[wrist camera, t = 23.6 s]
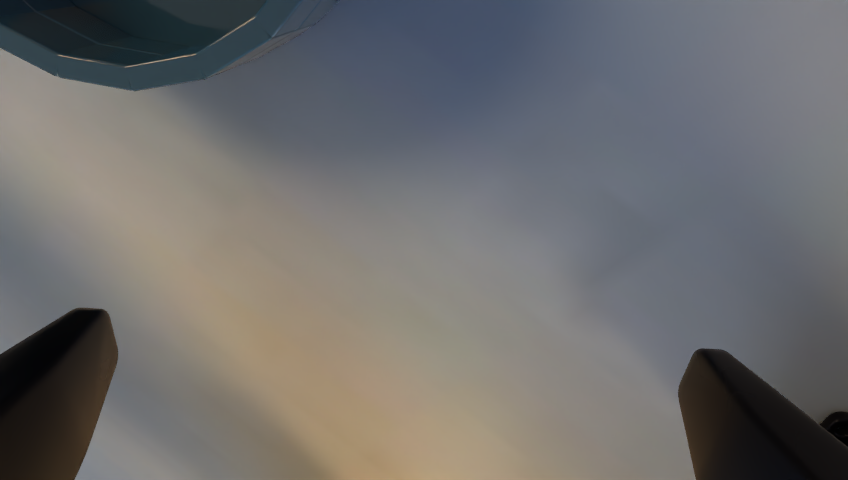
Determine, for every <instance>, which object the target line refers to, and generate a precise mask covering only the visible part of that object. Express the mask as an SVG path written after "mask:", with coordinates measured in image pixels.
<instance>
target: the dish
mask: <svg viewBox="0 0 848 480" xmlns="http://www.w3.org/2000/svg"><path fill="white" fill-rule="evenodd" d="M339 1H340V0H0V48H2V49H4V50H5V51H7V52H9V53H11V54H13V55H15V56H17V57H19V58H21V59H23V60H25V61H27V62H29V63H31V64H33V65H35V66H37V67H39V68H40V69H42V70H44V71H46V72H48V73H50V74H52V75H54V76H59V77H60V78H64V79H70V80H75V81H81V82H86V83H92V84H97V85H103V86H108V87H113V88H119V89H124V90H130V91H132V90H133V91H139V90H145V89H151V88H157V87H163V86H169V85H175V84H181V83H187V82H193V81H199V80H205V79H207V78H210V77H212V76H215V75H217V74H220V73H222V72H225V71H227V70H230V69H232V68H234V67H237V66H240V65H242V64H245V63H247V62H250V61H252V60H255V59H257V58H260V57H262V56H264V55H265V54H267V53H269V52H270V51H272V50H274V49H275V48H277V47H279V46H281V45H283V44H285V43H286V42H288V41H290V40H292V39H294V38H296V37H298V36H300V35H301V34H302V33H304V32H305V31H306V30H308V29H309V28H310V27H312V26H314V25H315V24H316V23H317V22H319V21H320V20H321V19H322V18H323V17H324V16H325V15H326V14H327V13H328V12H329V11H330V10H331V9H332V8H333V7H334V6H335V5H336V4H337V3H338V2H339Z"/></svg>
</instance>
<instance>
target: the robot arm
mask: <svg viewBox="0 0 848 480" xmlns="http://www.w3.org/2000/svg"><path fill="white" fill-rule="evenodd" d="M117 360H118V348H117V344H116V340H115V336H114V332H113V328H112V324H111V320H110V317H109V314H108V313H107V311H105V310H103V309H95V308H76V309H74V310H72V311H70V312H68V313H67V314H65V315H63V316H62V317H60V318H59V319H57V320H55V321H54V322H52V323H50V324H49V325H47V326H46V327H44V328H42V329H41V330H39V331H37V332H36V333H34V334H33V335H31V336H29V337H28V338H26V339H24V340H23V341H21V342H20V343H18V344H16V345H15V346H13V347H11V348H10V349H8V350H7V351H5V352H3V353H2V354H0V480H74V479H75V477H76V475H77V473H78V471H79V469H80V466H81V464H82V462H83V460H84V457H85V455H86V452H87V449H88V447H89V444H90V441H91V438H92V435H93V432H94V429H95V427H96V424H97V421H98V418H99V415H100V412H101V409H102V406H103V403H104V400H105V397H106V394H107V391H108V388H109V385H110V382H111V379H112V376H113V374H114V371H115V368H116V364H117ZM678 397H679V403H680V408H681V412H682V417H683V422H684V426H685V431H686V435H687V440H688V445H689V449H690V454H691V458H692V463H693V468H694V472H695V477H696V480H848V413H847V412H835V413H832V414H830V415H829V416H828V417H826V418H825V420H824V421H823V422H822V423H821V424H820V425H819V424H818V423H817V422H815V421H814V420H813V419H812V418H810V417H809V416H808V415H807V414H805V413H804V412H803V411H802V410H800V409H799V408H798V407H796V406H795V405H794V404H793V403H791V402H790V401H789V400H788V399H786V398H785V397H784V396H783V395H781V394H780V393H779V392H777V391H776V390H775V389H774V388H772V387H771V386H770V385H769V384H767V383H766V382H765V381H764V380H762V379H761V378H760V377H758V376H757V375H756V374H755V373H753V372H752V371H751V370H750V369H748V368H747V367H746V366H745V365H743V364H742V363H741V362H739V361H738V360H737V359H736V358H734V357H733V356H732V355H731V354H729V353H728V352H726V351H724V350H719V349H704V348H702V349H698V350H697V351H695V352H694V354H693V356H692V358H691V360H690V362H689V364H688V367H687V369H686V371H685V373H684V375H683V378H682V380H681V382H680V385H679V390H678ZM841 425H846V426H845V427H843V428H840V429H838V427H839V426H841Z"/></svg>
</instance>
